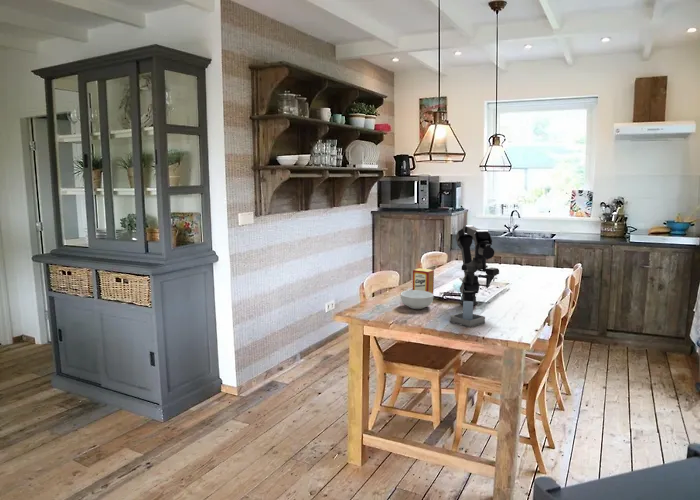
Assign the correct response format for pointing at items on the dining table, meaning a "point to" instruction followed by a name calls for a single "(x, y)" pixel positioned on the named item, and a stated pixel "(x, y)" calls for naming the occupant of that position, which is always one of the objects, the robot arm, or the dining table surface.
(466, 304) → the slate block
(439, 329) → the dining table surface
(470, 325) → the tray
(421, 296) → the cereal bowl
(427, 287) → the baking soda box
